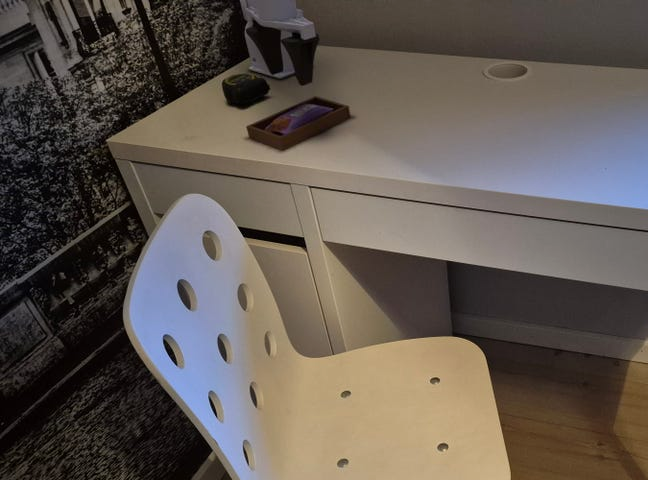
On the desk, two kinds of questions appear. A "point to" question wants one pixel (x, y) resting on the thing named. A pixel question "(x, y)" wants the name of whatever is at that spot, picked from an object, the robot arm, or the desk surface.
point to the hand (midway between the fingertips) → (291, 78)
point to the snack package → (298, 118)
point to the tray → (301, 133)
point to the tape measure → (244, 88)
